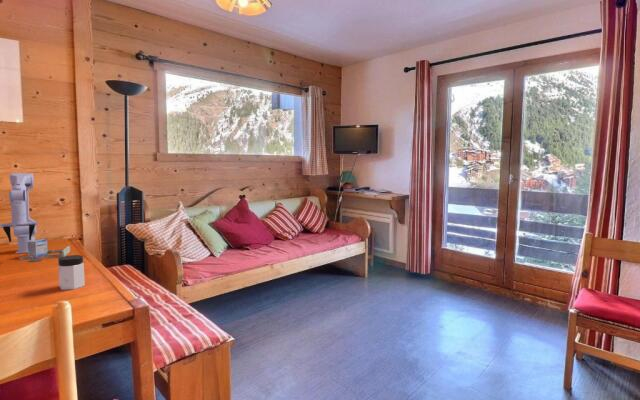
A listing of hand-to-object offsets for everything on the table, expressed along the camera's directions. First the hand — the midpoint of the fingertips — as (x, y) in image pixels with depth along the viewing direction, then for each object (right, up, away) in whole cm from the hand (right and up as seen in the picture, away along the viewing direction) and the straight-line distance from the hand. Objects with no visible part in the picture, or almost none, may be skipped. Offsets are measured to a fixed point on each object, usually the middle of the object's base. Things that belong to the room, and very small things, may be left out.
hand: (20, 240), depth 183 cm
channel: (+4, -9, +13) cm, 17 cm away
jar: (+52, -14, -37) cm, 65 cm away
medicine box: (0, -10, +12) cm, 15 cm away
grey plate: (+4, -9, +13) cm, 17 cm away
